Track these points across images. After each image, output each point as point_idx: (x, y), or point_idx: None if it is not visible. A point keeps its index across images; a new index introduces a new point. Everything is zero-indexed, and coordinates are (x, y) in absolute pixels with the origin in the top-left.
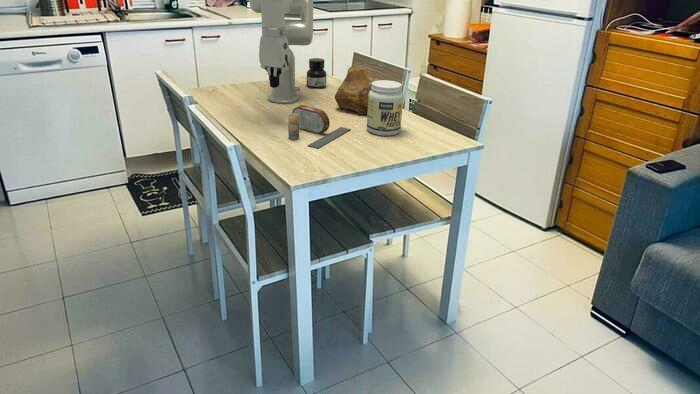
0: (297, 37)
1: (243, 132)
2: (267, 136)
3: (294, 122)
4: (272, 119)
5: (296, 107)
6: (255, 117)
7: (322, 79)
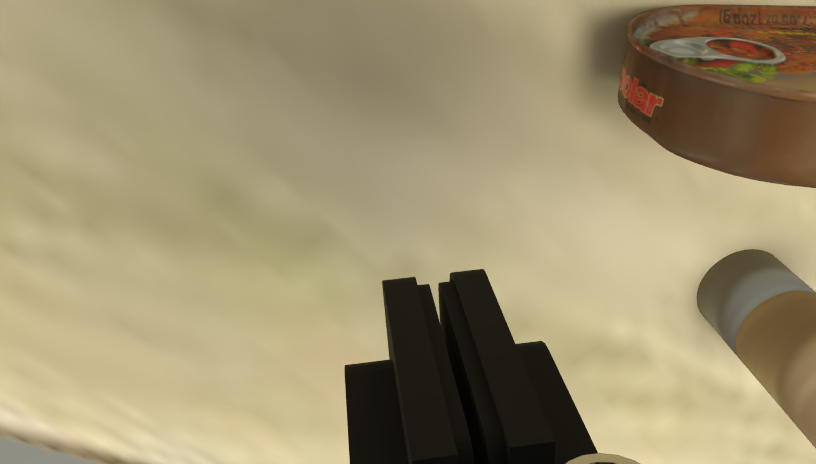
0: None
1: (326, 436)
2: None
3: None
4: (248, 19)
5: (776, 180)
6: (47, 94)
7: None
